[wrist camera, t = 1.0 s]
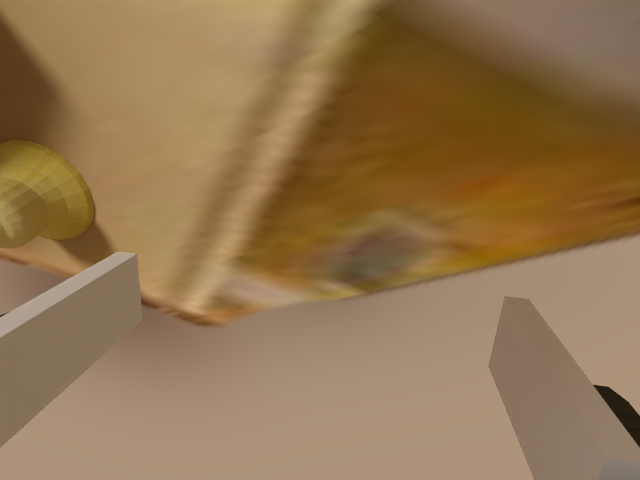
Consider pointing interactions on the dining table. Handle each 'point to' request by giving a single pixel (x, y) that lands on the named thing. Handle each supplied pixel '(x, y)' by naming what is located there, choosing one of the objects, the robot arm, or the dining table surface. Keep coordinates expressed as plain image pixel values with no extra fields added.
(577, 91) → the dining table surface
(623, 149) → the dining table surface
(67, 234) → the handbell
